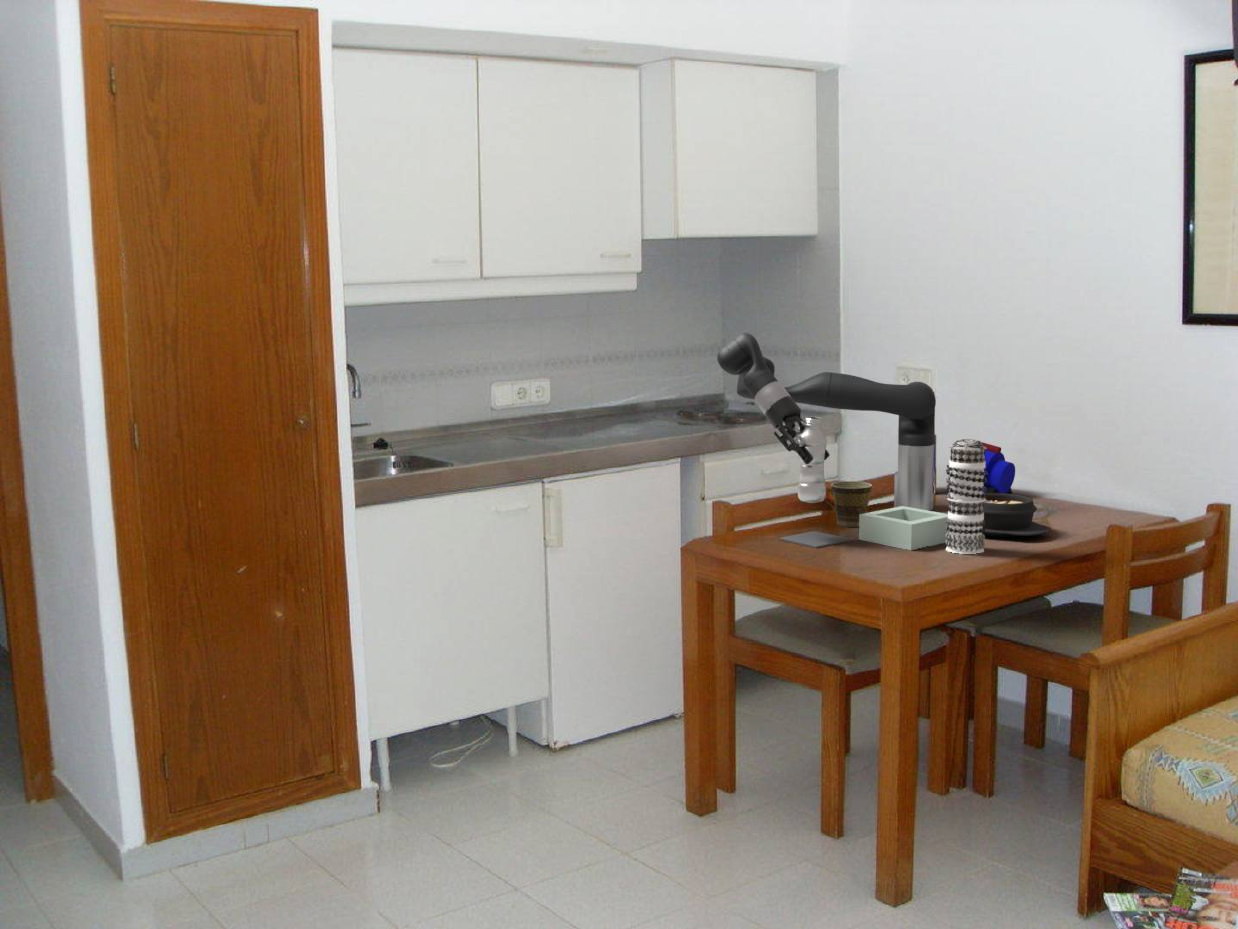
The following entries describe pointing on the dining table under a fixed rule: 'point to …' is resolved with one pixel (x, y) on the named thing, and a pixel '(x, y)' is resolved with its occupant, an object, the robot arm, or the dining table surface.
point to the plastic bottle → (813, 463)
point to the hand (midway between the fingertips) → (818, 459)
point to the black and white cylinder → (966, 497)
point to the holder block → (903, 527)
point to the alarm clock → (998, 471)
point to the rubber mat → (815, 539)
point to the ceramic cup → (850, 501)
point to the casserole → (1010, 516)
